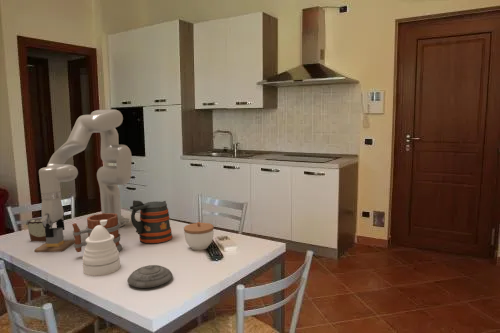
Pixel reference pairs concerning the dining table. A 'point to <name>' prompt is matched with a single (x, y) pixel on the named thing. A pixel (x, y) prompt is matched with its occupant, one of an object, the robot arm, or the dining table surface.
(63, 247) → the pin board
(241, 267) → the dining table surface
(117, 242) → the mug
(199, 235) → the lidded bowl
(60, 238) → the sleeve
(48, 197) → the robot arm
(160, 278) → the flying saucer
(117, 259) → the honey pot
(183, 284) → the dining table surface
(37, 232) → the food container
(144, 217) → the beer stein
